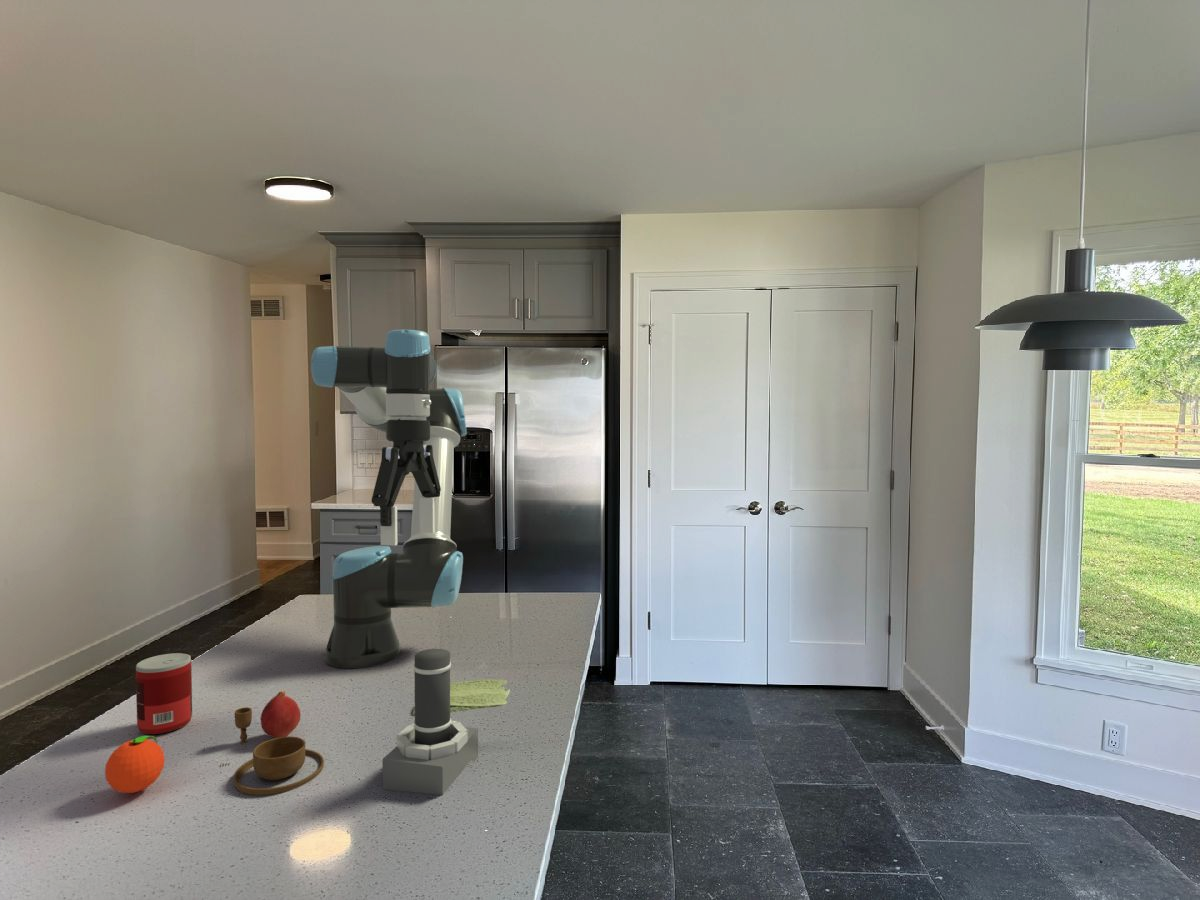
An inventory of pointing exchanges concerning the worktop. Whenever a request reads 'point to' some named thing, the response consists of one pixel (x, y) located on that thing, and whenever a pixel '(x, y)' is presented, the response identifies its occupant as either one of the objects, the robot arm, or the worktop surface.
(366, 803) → the worktop surface
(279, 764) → the place setting
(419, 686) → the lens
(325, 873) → the worktop surface
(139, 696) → the canned food
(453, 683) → the washcloth
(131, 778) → the clementine
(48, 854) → the worktop surface
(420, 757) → the block with octagonal ring
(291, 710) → the onion
